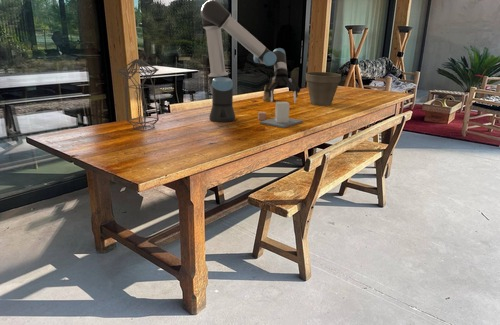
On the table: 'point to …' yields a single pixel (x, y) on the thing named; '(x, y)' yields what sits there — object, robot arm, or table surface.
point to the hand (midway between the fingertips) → (283, 101)
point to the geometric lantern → (139, 90)
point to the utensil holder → (266, 95)
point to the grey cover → (282, 112)
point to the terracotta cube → (262, 115)
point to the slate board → (281, 124)
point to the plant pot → (322, 87)
